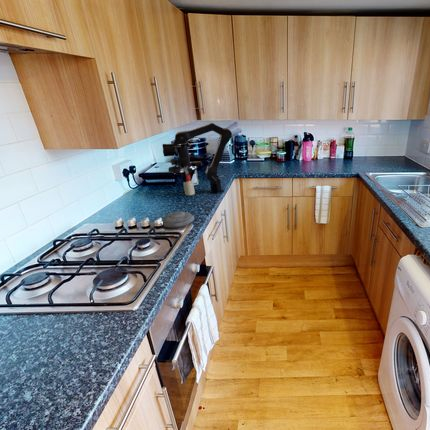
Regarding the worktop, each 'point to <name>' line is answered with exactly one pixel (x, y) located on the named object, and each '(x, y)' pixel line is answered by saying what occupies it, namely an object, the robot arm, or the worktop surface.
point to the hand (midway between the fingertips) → (187, 181)
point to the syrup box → (195, 176)
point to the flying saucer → (177, 219)
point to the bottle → (189, 188)
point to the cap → (188, 177)
